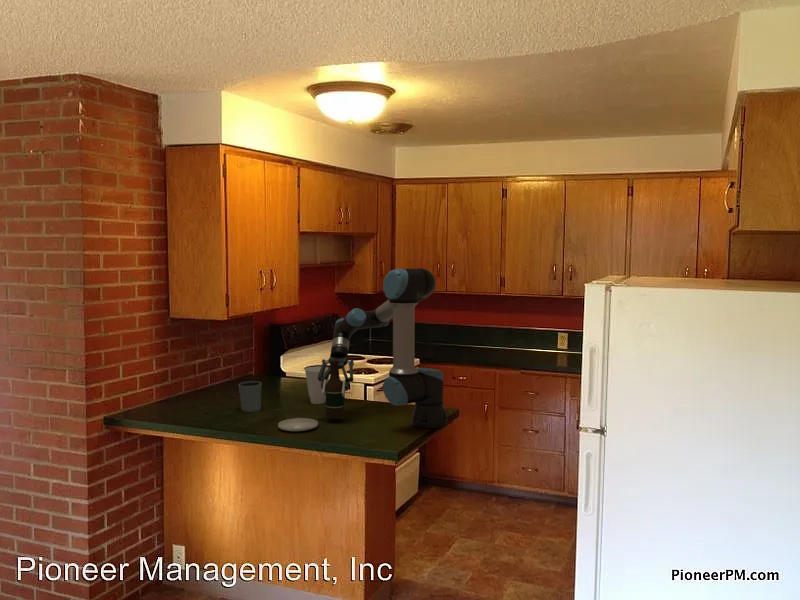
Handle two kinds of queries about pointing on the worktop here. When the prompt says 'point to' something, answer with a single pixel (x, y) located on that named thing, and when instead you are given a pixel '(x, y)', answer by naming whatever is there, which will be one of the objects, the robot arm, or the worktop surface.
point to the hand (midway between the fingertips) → (333, 394)
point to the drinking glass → (250, 396)
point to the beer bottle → (334, 393)
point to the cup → (315, 385)
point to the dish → (298, 424)
